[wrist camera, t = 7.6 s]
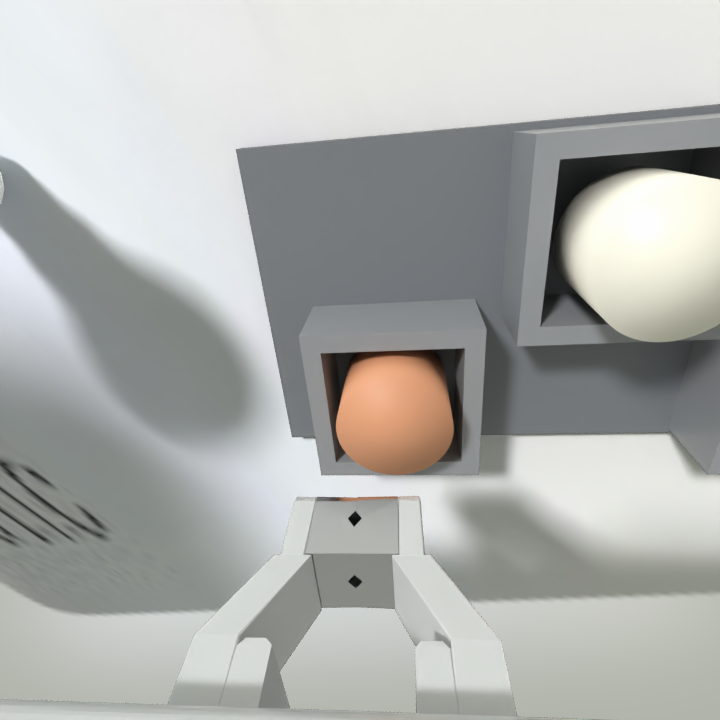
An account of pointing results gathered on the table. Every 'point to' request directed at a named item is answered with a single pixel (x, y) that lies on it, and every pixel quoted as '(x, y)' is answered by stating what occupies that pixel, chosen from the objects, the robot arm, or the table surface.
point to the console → (472, 279)
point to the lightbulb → (1, 188)
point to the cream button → (645, 251)
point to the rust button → (395, 411)
